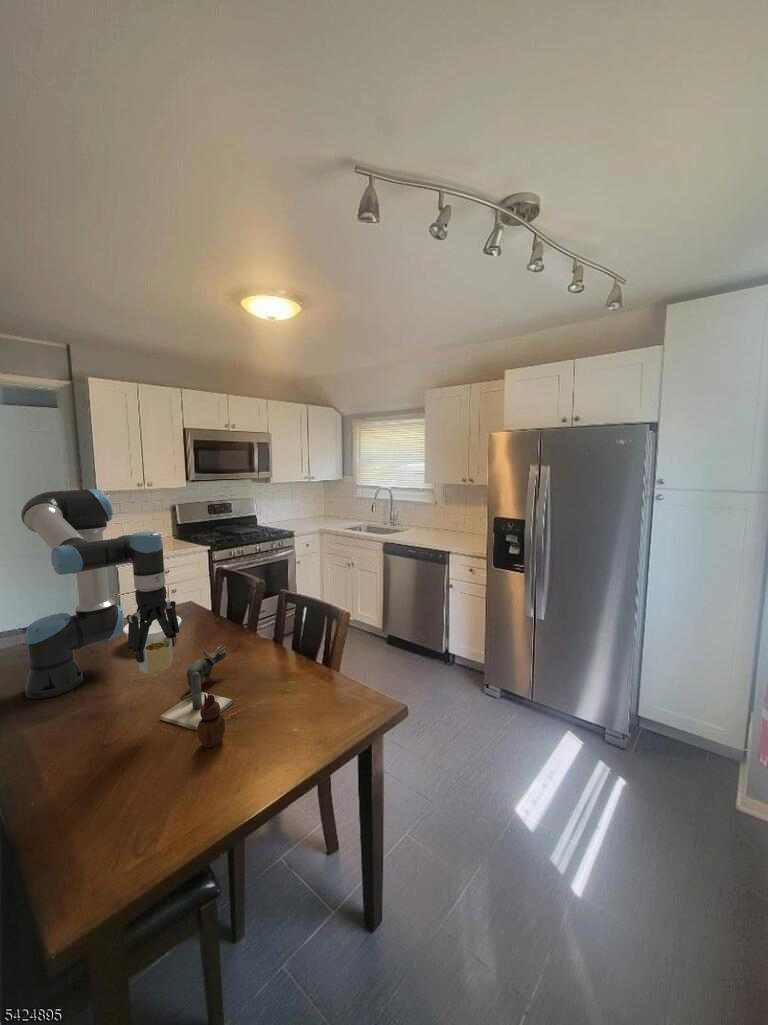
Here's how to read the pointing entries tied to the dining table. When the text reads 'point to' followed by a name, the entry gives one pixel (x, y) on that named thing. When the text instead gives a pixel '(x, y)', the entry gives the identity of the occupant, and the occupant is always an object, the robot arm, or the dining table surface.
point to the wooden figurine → (210, 723)
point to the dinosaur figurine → (205, 666)
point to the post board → (192, 706)
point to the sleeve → (158, 655)
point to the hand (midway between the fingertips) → (157, 665)
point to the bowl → (153, 631)
